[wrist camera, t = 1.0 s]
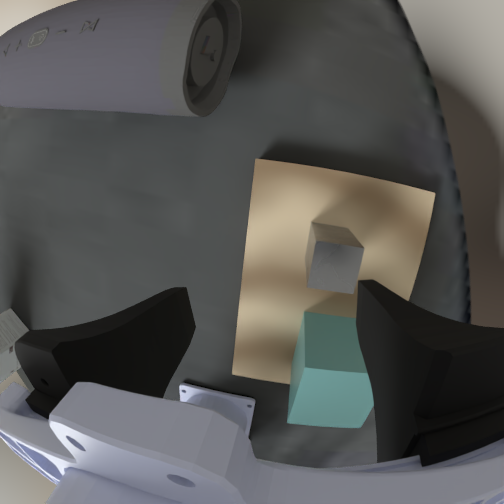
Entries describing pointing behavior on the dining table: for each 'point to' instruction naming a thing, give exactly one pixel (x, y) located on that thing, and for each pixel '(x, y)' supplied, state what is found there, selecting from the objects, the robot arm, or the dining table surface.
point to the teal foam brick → (329, 374)
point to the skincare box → (9, 342)
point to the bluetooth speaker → (123, 56)
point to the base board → (294, 249)
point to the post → (332, 258)
